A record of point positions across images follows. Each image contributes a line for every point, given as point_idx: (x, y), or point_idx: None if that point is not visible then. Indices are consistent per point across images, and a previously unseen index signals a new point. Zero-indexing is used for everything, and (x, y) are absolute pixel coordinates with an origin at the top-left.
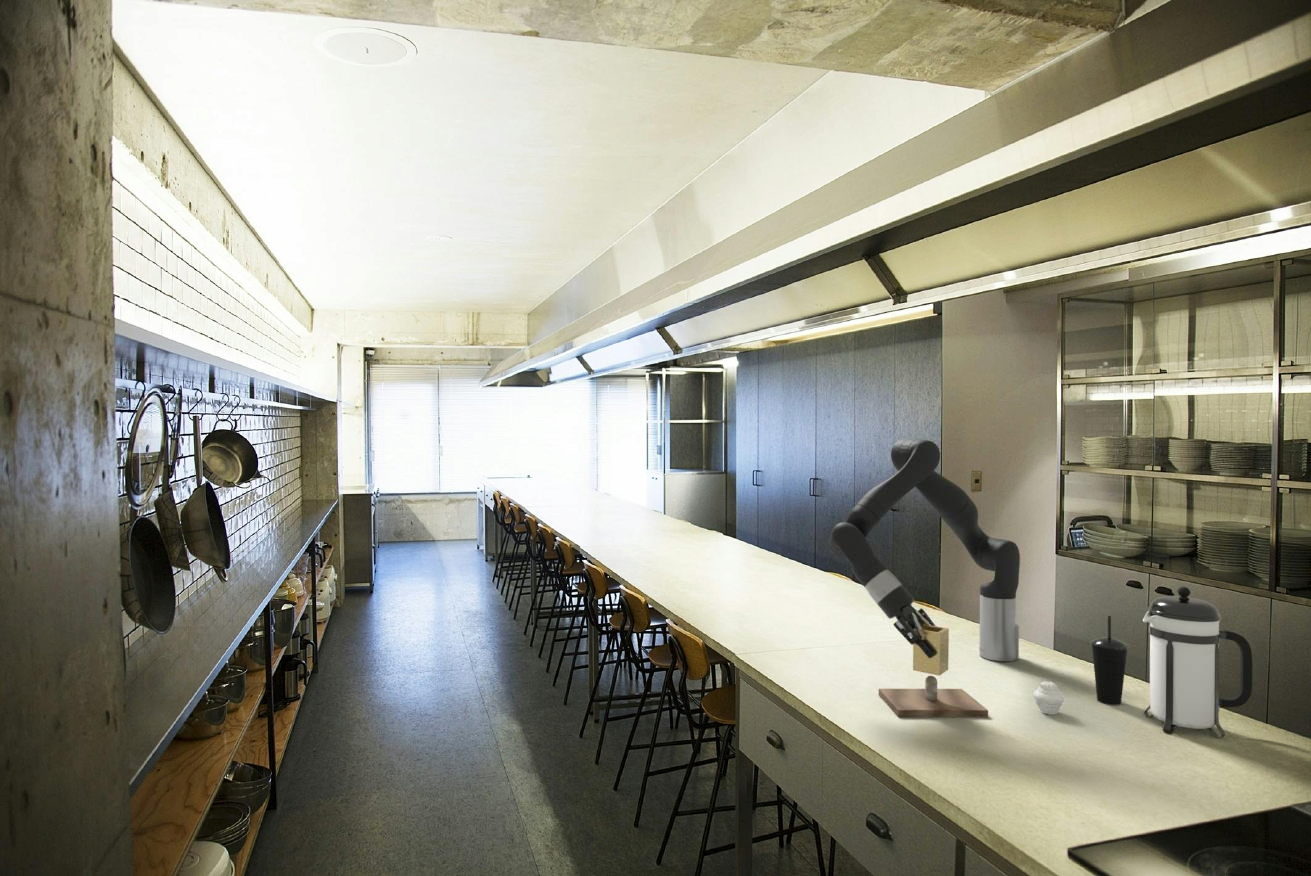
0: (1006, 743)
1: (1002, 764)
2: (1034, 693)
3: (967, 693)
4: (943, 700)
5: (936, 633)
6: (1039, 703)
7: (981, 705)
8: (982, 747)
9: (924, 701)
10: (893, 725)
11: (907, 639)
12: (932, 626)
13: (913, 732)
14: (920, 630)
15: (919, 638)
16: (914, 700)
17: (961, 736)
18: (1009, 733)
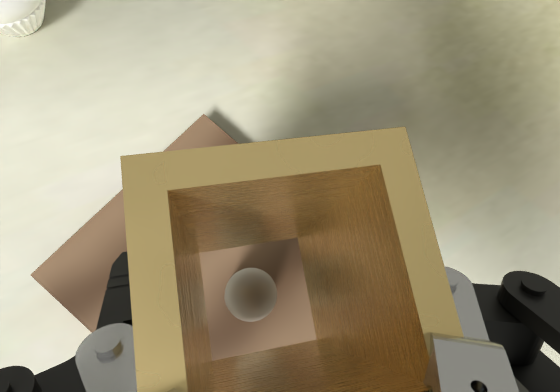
0: (350, 31)
1: (460, 5)
2: (7, 7)
3: (76, 232)
4: (227, 255)
5: (412, 159)
6: (40, 8)
7: (174, 145)
8: (417, 61)
9: (291, 297)
10: (489, 281)
11: (555, 376)
12: (180, 336)
13: (481, 215)
14: (461, 330)
15: (524, 271)
16: (311, 328)
17: (400, 118)
18: (282, 45)
